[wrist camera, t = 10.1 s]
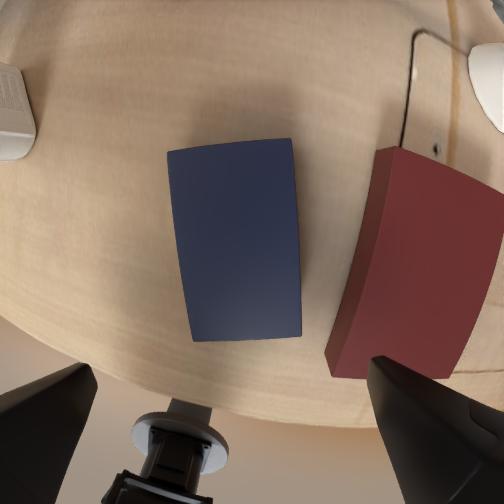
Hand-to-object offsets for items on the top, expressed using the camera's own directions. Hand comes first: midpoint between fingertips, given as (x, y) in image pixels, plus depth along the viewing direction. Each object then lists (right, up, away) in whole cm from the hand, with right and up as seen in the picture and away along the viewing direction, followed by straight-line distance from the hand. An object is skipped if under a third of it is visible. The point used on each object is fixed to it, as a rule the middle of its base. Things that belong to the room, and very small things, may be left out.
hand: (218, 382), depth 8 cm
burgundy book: (+13, +2, +11) cm, 17 cm away
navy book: (0, +5, +11) cm, 12 cm away
